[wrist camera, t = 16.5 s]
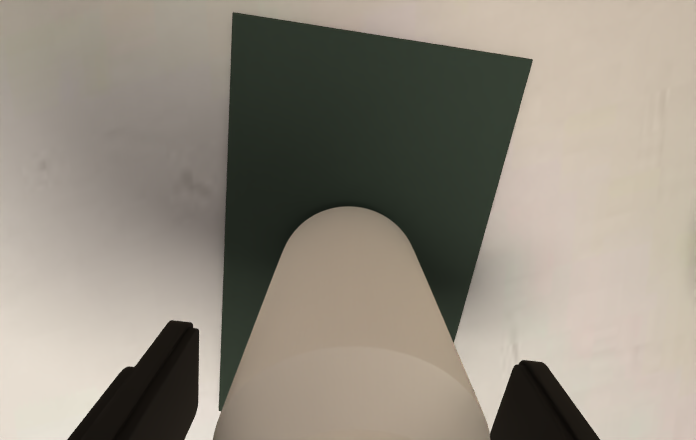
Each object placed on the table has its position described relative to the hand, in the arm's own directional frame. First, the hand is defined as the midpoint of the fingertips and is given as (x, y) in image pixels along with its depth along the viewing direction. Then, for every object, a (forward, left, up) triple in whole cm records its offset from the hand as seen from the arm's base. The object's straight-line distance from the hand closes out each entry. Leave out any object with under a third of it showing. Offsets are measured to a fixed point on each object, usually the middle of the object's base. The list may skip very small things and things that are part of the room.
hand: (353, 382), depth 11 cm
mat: (0, 0, -8) cm, 8 cm away
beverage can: (0, 0, -8) cm, 8 cm away
